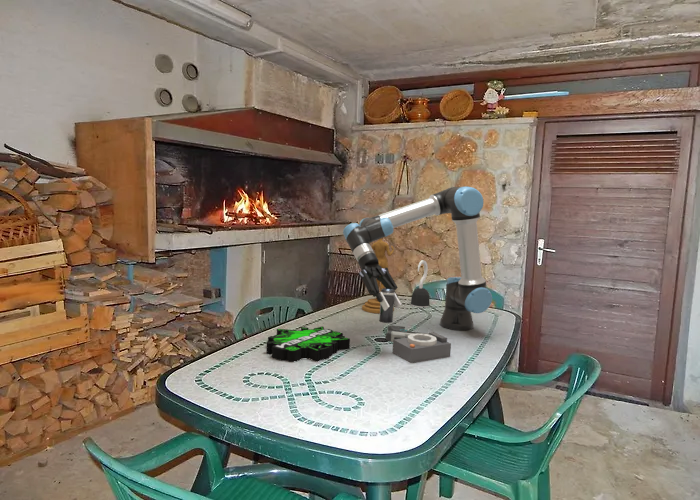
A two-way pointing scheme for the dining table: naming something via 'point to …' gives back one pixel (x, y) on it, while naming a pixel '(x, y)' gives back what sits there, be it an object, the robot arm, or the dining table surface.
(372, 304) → the statue
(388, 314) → the lens
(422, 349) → the camera body
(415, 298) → the hook
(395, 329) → the handgun
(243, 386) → the dining table surface
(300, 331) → the sign
